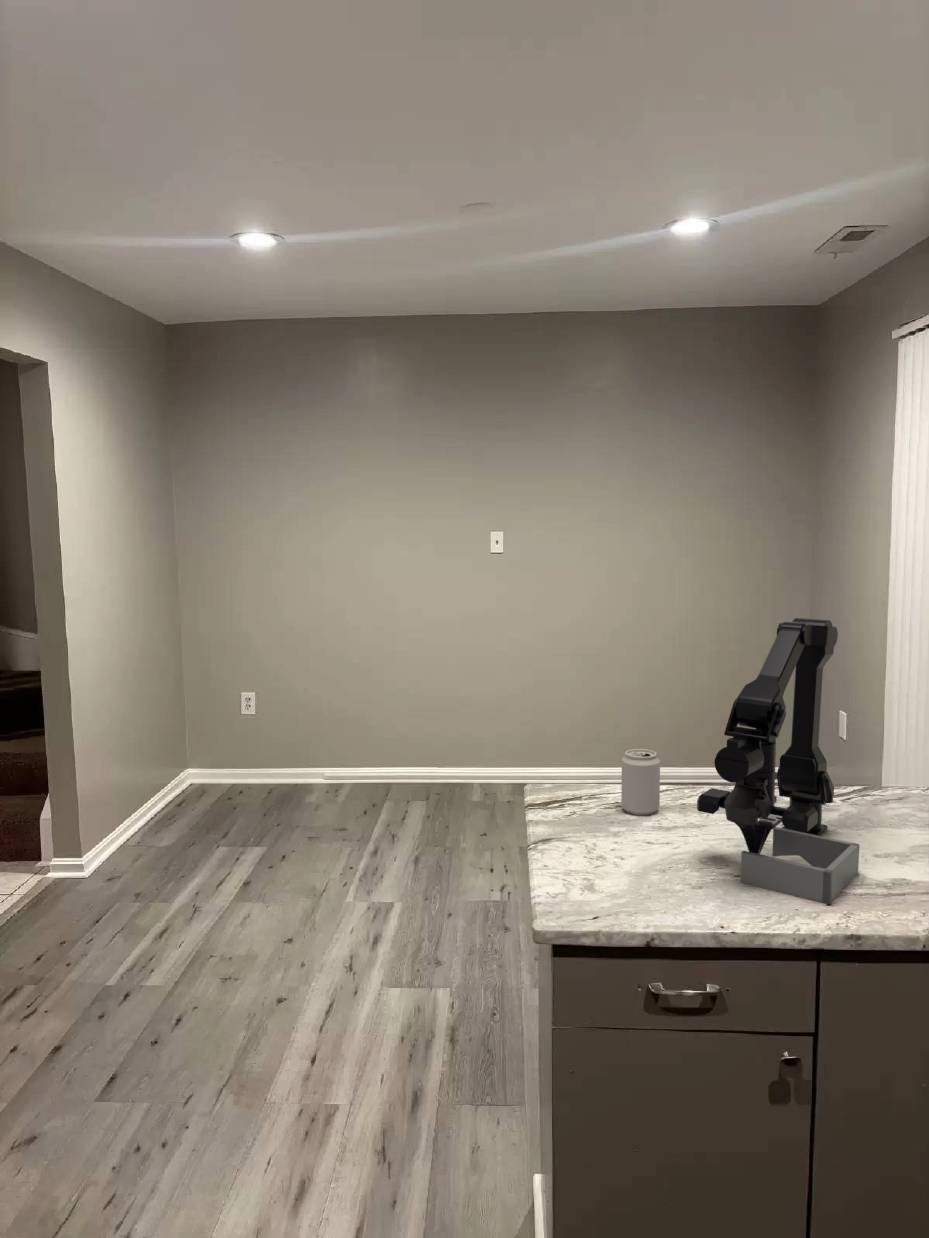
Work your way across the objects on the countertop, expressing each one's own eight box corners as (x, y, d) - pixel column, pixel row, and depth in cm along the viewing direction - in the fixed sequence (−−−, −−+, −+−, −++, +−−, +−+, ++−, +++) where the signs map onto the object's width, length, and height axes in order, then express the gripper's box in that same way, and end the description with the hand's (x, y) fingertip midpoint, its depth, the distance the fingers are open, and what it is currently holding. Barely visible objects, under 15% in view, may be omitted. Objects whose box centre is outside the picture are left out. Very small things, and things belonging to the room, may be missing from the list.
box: (774, 854, 164) (775, 826, 163) (858, 873, 155) (859, 843, 155) (740, 882, 152) (741, 852, 152) (829, 903, 144) (830, 872, 143)
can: (659, 817, 184) (660, 757, 183) (620, 815, 185) (621, 756, 184) (659, 805, 191) (660, 747, 190) (622, 803, 193) (622, 746, 191)
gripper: (683, 770, 156) (682, 860, 158) (797, 789, 144) (794, 887, 146) (711, 755, 165) (709, 841, 166) (820, 773, 153) (817, 865, 155)
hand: (754, 858), depth 158 cm, fingers closed
